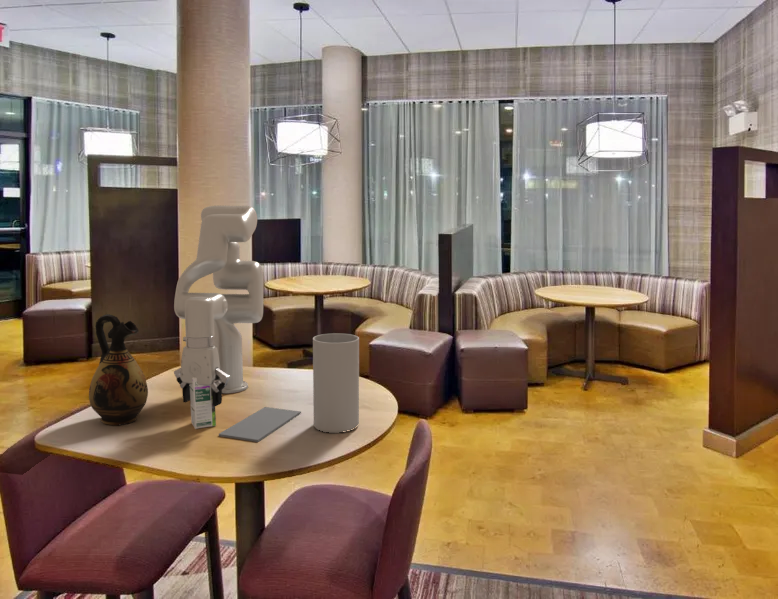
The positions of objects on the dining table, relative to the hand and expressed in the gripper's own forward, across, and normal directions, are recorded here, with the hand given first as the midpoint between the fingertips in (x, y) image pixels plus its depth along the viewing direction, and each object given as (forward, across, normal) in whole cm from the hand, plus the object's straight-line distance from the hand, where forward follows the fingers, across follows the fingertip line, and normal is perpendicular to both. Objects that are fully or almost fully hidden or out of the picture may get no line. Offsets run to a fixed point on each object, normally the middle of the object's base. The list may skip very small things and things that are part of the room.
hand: (202, 402), depth 174 cm
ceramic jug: (+6, -25, -5) cm, 26 cm away
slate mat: (+6, +15, +6) cm, 17 cm away
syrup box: (+7, 0, 0) cm, 7 cm away
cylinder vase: (+7, +35, +12) cm, 38 cm away
